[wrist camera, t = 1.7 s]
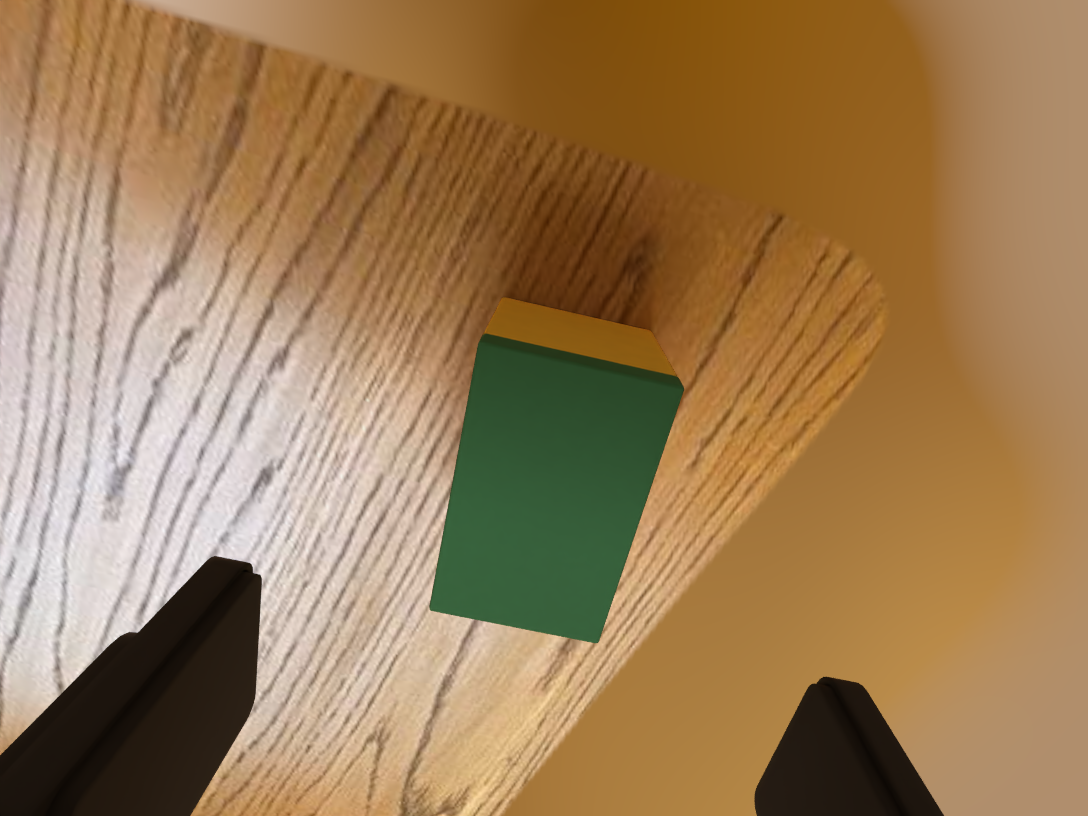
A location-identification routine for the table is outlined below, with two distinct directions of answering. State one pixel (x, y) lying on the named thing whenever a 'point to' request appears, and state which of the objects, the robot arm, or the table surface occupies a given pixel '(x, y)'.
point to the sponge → (552, 469)
